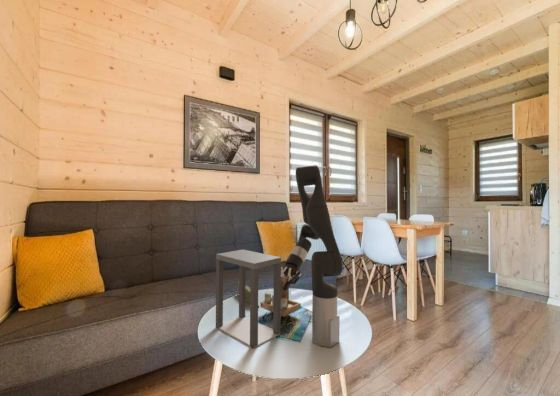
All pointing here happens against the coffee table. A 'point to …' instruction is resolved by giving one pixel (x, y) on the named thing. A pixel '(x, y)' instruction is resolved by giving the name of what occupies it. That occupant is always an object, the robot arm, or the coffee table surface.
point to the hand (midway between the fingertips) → (279, 289)
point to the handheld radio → (246, 293)
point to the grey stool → (243, 326)
